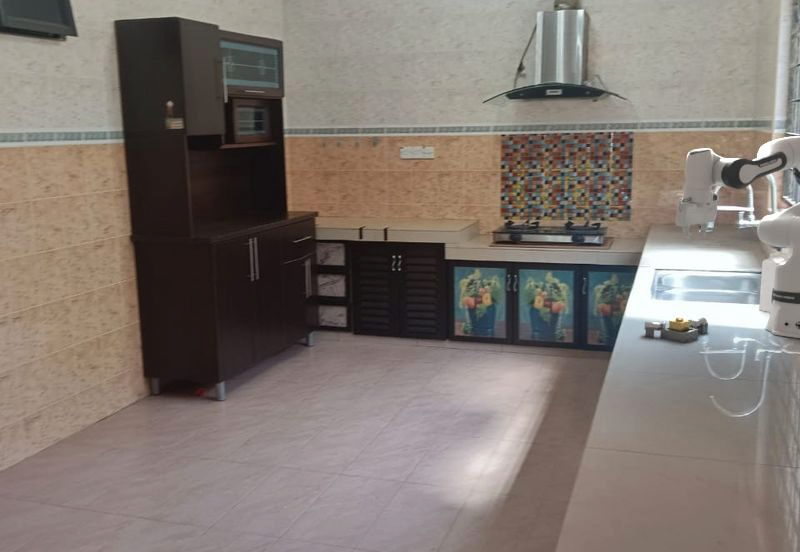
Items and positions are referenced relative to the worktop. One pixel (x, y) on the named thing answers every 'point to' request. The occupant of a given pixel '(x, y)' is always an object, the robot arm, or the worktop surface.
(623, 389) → the worktop surface
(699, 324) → the grey irregular block
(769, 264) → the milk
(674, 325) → the coupler
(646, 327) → the grey brown arch block
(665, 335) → the box
